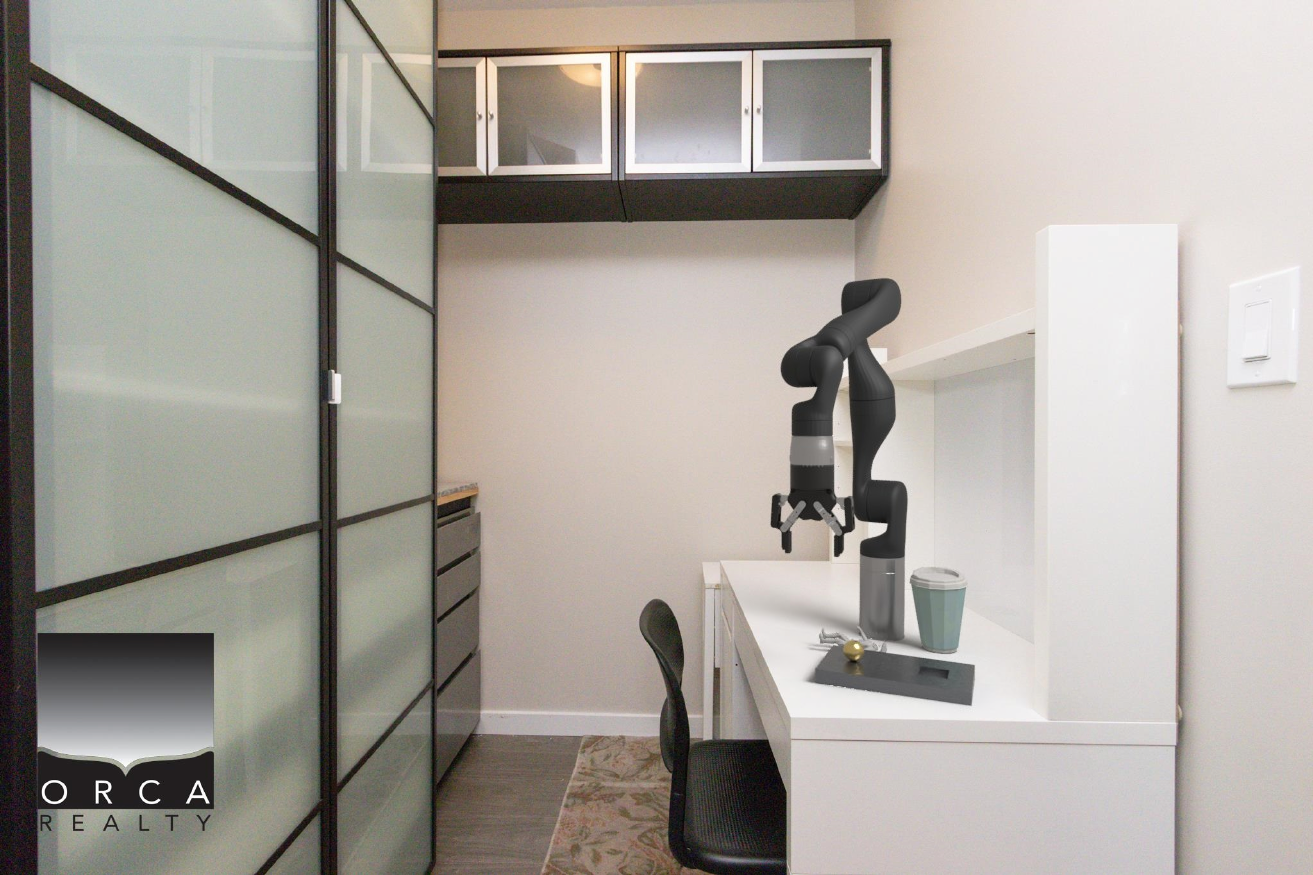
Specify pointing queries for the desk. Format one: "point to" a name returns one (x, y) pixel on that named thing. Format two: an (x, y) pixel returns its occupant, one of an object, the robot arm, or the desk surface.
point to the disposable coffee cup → (939, 606)
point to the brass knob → (853, 650)
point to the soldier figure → (843, 639)
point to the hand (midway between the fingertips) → (812, 554)
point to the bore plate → (899, 675)
